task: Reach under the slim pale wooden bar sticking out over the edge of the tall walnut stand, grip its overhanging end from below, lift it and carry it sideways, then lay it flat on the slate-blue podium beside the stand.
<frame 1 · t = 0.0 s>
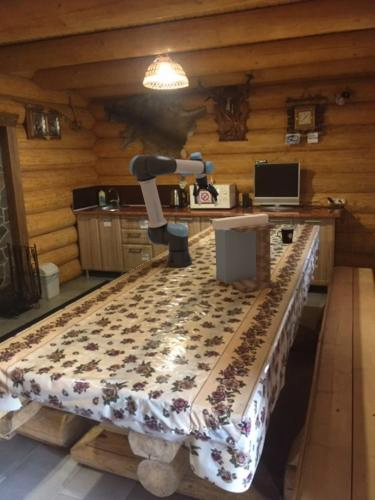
hand: (208, 205, 286), 28 cm above the table, tool tilted 20°, fingers open, 13 cm apart
slate podium: (236, 278, 215), on the table
walnut stand: (253, 285, 202), on the table
coffee mug: (285, 243, 287), on the table
pale wooden bar: (240, 225, 193), point 30 cm above the table, touching walnut stand
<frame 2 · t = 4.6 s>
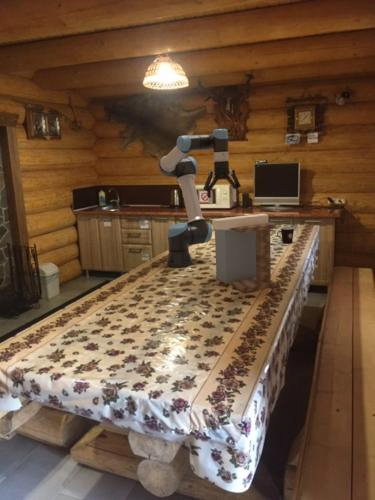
hand: (222, 202, 217), 38 cm above the table, tool pointing down, fingers open, 13 cm apart
nothing on the table moved.
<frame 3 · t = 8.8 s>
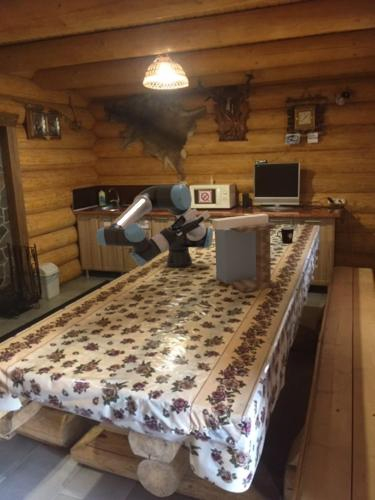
hand: (202, 211, 186), 38 cm above the table, tool pointing upward, fingers open, 13 cm apart
nothing on the table moved.
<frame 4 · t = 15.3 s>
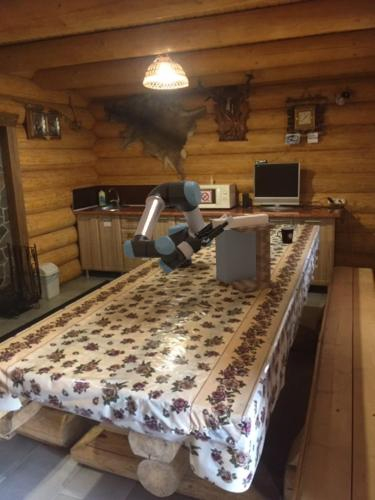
hand: (229, 217, 190), 35 cm above the table, tool pointing upward, fingers closed on pale wooden bar, 5 cm apart
pale wooden bar: (240, 225, 193), point 30 cm above the table, touching gripper, walnut stand
everything else where it was.
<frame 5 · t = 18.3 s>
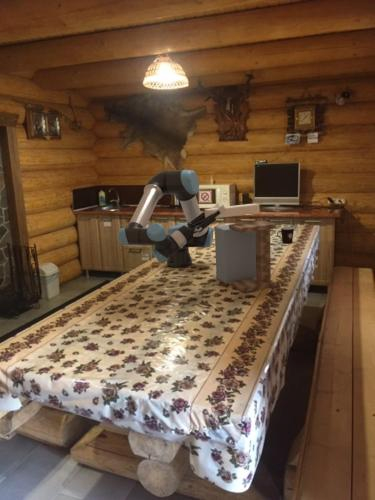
hand: (221, 206, 195), 39 cm above the table, tool pointing upward, fingers closed on pale wooden bar, 5 cm apart
pale wooden bar: (232, 215, 198), point 34 cm above the table, touching gripper
everything else where it was.
when the fingers open (33 cm above the table, at t = 21.4 s): pale wooden bar drops 2 cm, resting on slate podium.
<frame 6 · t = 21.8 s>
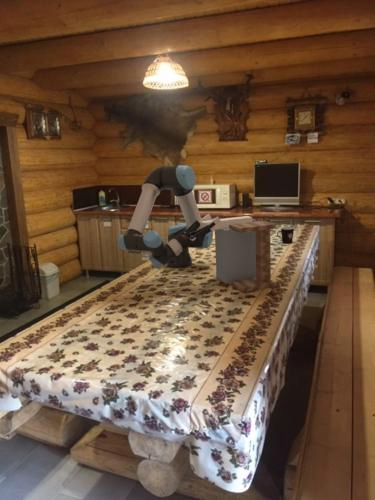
hand: (214, 217, 204), 33 cm above the table, tool pointing upward, fingers open, 10 cm apart
pale wooden bar: (226, 227, 208), point 27 cm above the table, touching slate podium
everything else where it was.
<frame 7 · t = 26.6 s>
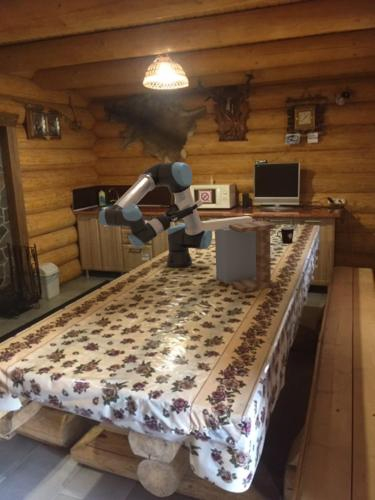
hand: (195, 201, 201), 41 cm above the table, tool pointing upward, fingers open, 13 cm apart
nothing on the table moved.
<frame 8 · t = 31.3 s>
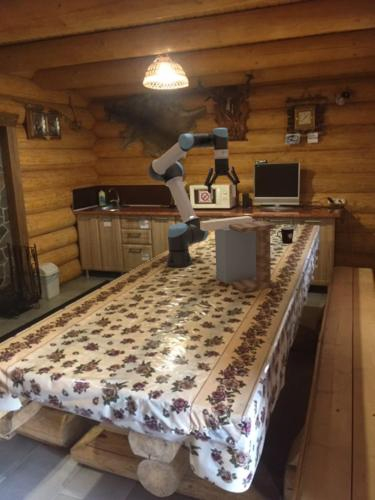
hand: (222, 198, 229), 39 cm above the table, tool pointing down, fingers open, 13 cm apart
nothing on the table moved.
at the end: pale wooden bar inside the target area on the slate podium (0.4 cm from its centre), point 27.0 cm above the slate podium's base; pale wooden bar tilted 0°; the gripper is holding nothing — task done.
